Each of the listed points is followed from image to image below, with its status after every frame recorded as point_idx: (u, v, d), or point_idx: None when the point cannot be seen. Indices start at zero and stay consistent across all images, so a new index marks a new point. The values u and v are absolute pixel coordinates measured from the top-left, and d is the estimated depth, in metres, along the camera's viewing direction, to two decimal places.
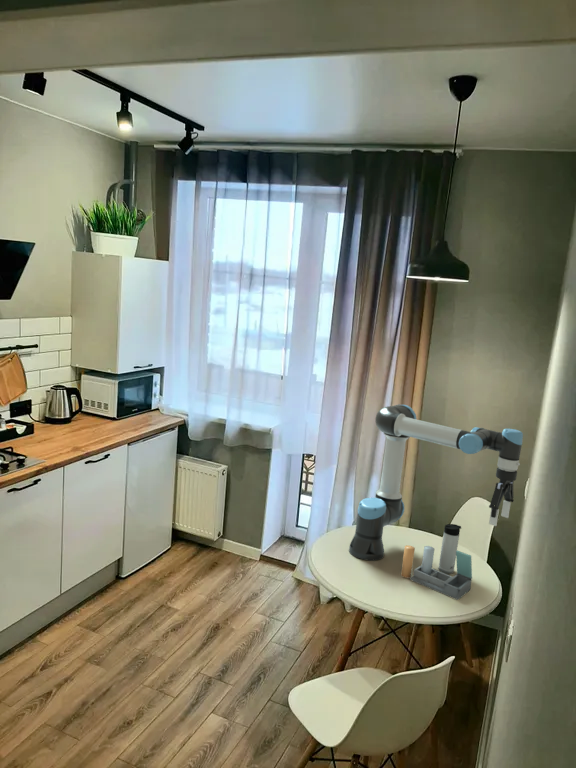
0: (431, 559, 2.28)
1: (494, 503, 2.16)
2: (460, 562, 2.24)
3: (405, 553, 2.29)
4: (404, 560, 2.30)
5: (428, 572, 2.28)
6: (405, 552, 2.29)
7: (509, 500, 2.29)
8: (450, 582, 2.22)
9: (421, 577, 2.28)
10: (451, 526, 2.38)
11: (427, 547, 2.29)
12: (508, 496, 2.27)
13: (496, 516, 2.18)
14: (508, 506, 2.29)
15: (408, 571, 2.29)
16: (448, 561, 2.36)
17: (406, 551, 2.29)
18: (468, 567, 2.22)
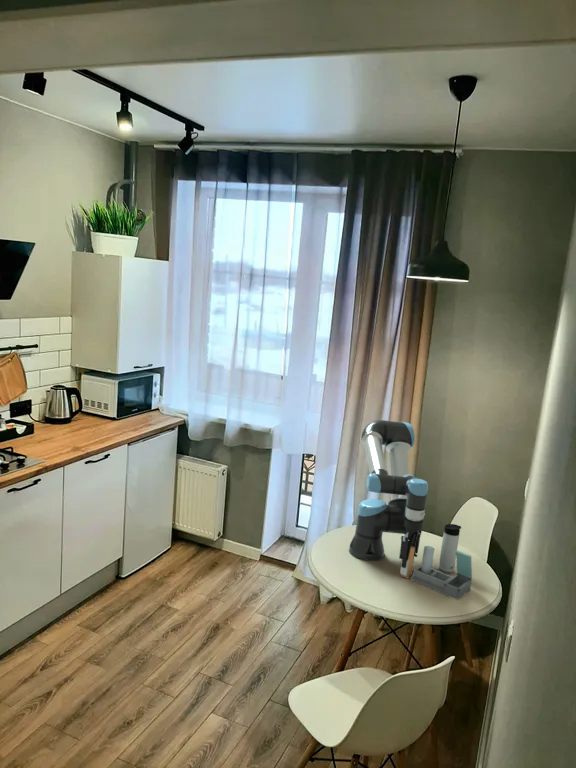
0: (431, 559, 2.28)
1: (402, 555, 2.26)
2: (460, 562, 2.24)
3: None
4: None
5: (428, 572, 2.28)
6: None
7: None
8: (450, 582, 2.22)
9: (421, 577, 2.28)
10: (451, 526, 2.38)
11: (427, 547, 2.29)
12: None
13: (406, 566, 2.28)
14: None
15: (408, 571, 2.29)
16: (448, 561, 2.36)
17: None
18: (468, 567, 2.22)
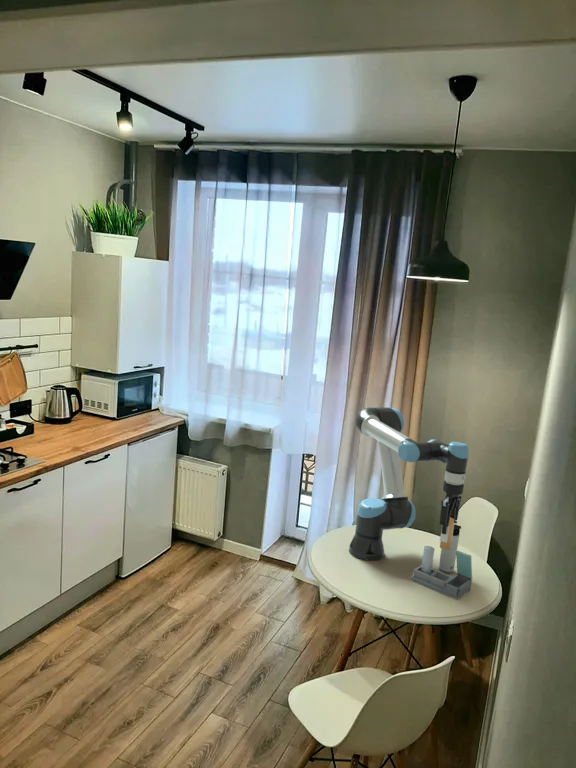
0: (431, 559, 2.28)
1: (443, 521, 2.18)
2: (460, 562, 2.24)
3: None
4: None
5: (428, 572, 2.28)
6: None
7: None
8: (450, 582, 2.22)
9: (421, 577, 2.28)
10: None
11: (427, 547, 2.29)
12: (453, 514, 2.24)
13: (446, 533, 2.21)
14: None
15: (448, 543, 2.22)
16: (448, 561, 2.36)
17: None
18: (468, 567, 2.22)
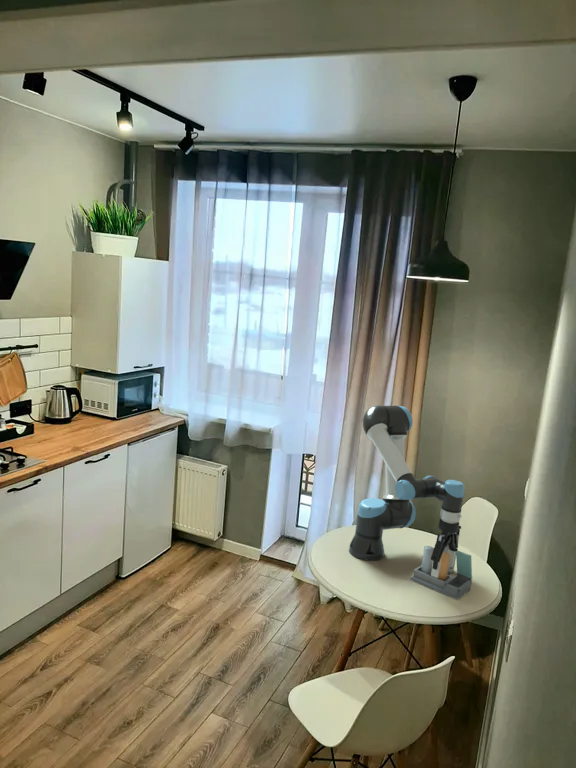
0: None
1: (435, 555, 2.17)
2: (460, 562, 2.24)
3: (440, 560, 2.24)
4: None
5: (428, 572, 2.28)
6: (440, 559, 2.24)
7: (453, 550, 2.30)
8: (450, 582, 2.22)
9: (421, 577, 2.28)
10: None
11: (427, 547, 2.29)
12: (452, 546, 2.28)
13: (437, 568, 2.19)
14: (452, 556, 2.29)
15: (444, 579, 2.24)
16: None
17: (441, 558, 2.23)
18: (468, 567, 2.22)
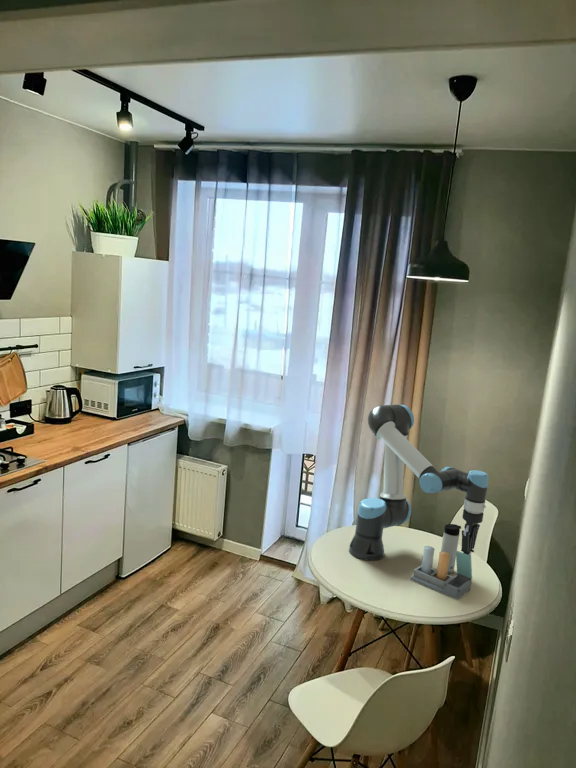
0: (431, 559, 2.28)
1: (465, 549, 2.21)
2: (460, 562, 2.24)
3: (440, 559, 2.24)
4: (439, 566, 2.24)
5: (428, 572, 2.28)
6: (440, 558, 2.24)
7: (469, 550, 2.24)
8: (450, 582, 2.22)
9: (421, 577, 2.28)
10: (451, 526, 2.38)
11: (427, 547, 2.29)
12: (470, 543, 2.24)
13: None
14: None
15: (444, 578, 2.24)
16: None
17: (441, 557, 2.24)
18: (468, 567, 2.22)
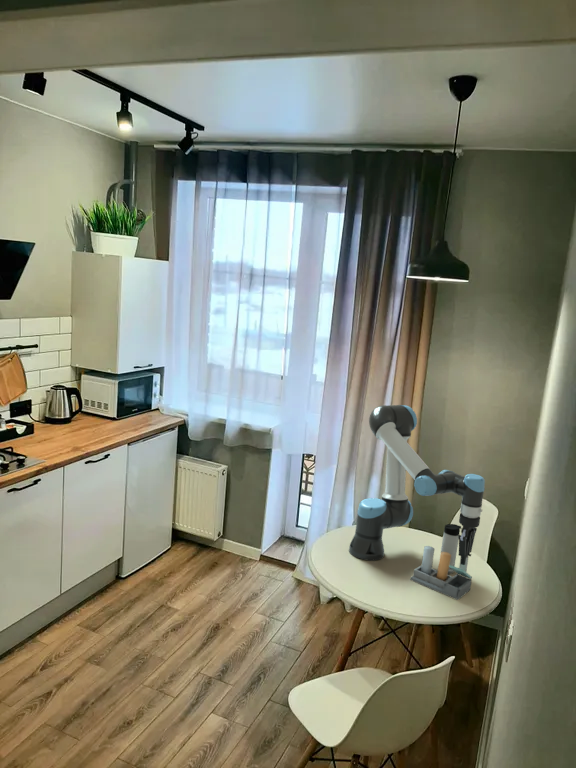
0: (431, 559, 2.28)
1: (462, 553, 2.19)
2: (456, 571, 2.22)
3: (441, 560, 2.24)
4: (440, 567, 2.24)
5: (428, 572, 2.28)
6: (441, 559, 2.24)
7: (467, 554, 2.22)
8: (450, 582, 2.22)
9: (421, 577, 2.28)
10: (451, 526, 2.38)
11: (427, 547, 2.29)
12: (467, 547, 2.22)
13: (465, 563, 2.22)
14: (466, 561, 2.22)
15: (444, 578, 2.24)
16: None
17: (443, 558, 2.23)
18: (464, 574, 2.21)
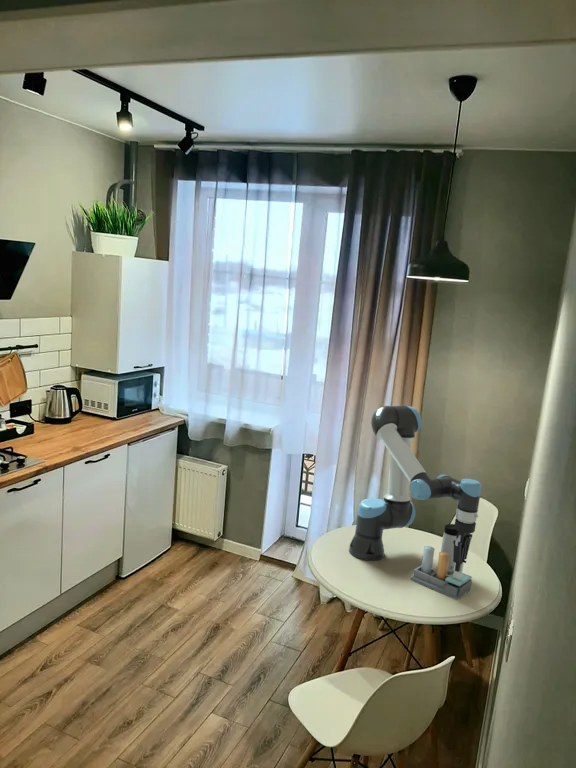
0: (431, 559, 2.28)
1: (456, 559, 2.15)
2: None
3: (440, 560, 2.24)
4: (439, 567, 2.24)
5: (428, 572, 2.28)
6: (440, 559, 2.24)
7: (462, 561, 2.19)
8: None
9: (421, 577, 2.28)
10: (451, 526, 2.38)
11: (427, 547, 2.29)
12: (463, 553, 2.19)
13: (460, 570, 2.18)
14: None
15: (444, 578, 2.24)
16: None
17: (441, 558, 2.23)
18: None
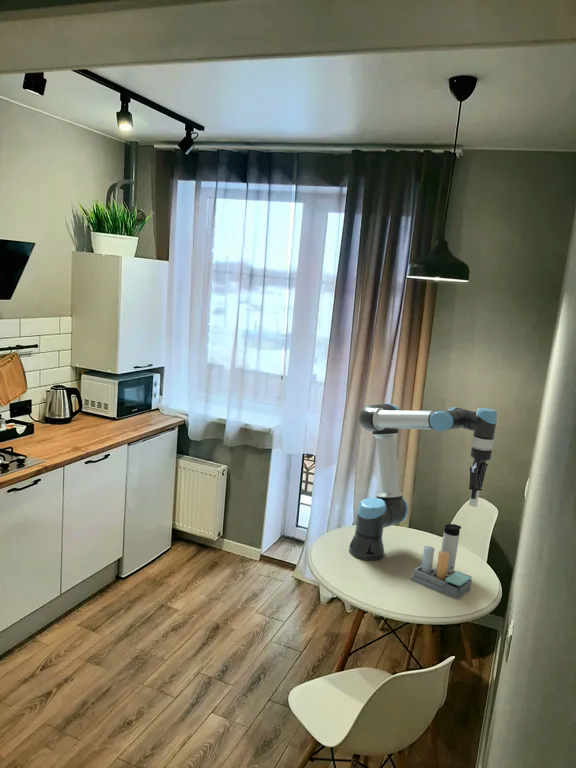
0: (431, 559, 2.28)
1: (473, 486, 2.21)
2: None
3: (440, 559, 2.24)
4: (439, 567, 2.24)
5: (428, 572, 2.28)
6: (440, 558, 2.24)
7: (478, 489, 2.25)
8: None
9: (421, 577, 2.28)
10: (451, 526, 2.38)
11: (427, 547, 2.29)
12: (478, 481, 2.25)
13: (476, 497, 2.24)
14: None
15: (444, 578, 2.24)
16: (448, 561, 2.36)
17: (441, 557, 2.24)
18: None
